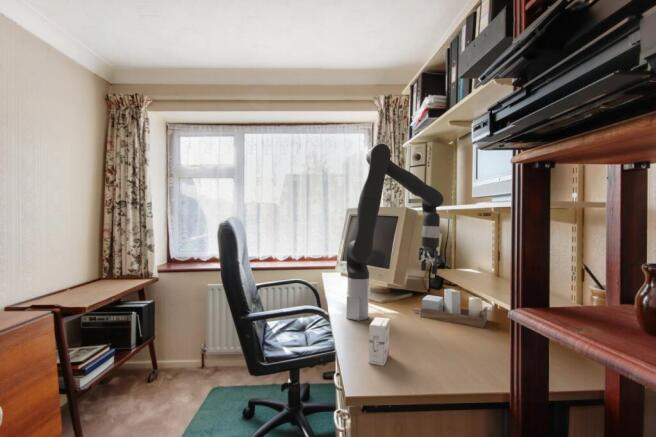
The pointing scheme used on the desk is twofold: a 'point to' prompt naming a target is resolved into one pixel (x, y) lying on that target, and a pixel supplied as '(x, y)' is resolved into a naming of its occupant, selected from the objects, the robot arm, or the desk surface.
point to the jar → (475, 306)
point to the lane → (457, 317)
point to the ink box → (379, 340)
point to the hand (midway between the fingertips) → (428, 272)
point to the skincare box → (451, 301)
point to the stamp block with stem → (431, 303)
